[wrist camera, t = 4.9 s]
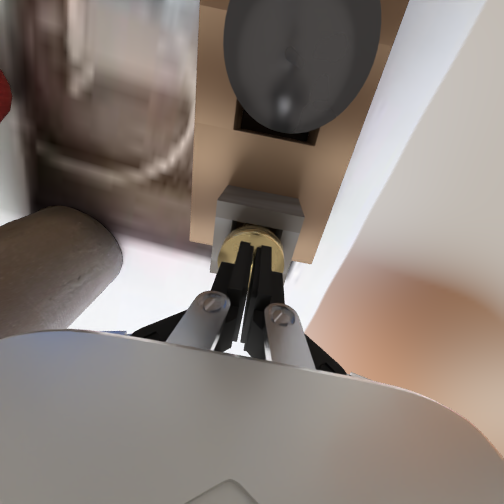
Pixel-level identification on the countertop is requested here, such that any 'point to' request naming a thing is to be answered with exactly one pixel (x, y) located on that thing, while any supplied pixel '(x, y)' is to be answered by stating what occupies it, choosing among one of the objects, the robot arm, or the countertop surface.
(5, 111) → the onion
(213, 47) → the socket block
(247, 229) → the round brass peg
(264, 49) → the capped metal cylinder
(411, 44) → the countertop surface
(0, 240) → the pillar candle
